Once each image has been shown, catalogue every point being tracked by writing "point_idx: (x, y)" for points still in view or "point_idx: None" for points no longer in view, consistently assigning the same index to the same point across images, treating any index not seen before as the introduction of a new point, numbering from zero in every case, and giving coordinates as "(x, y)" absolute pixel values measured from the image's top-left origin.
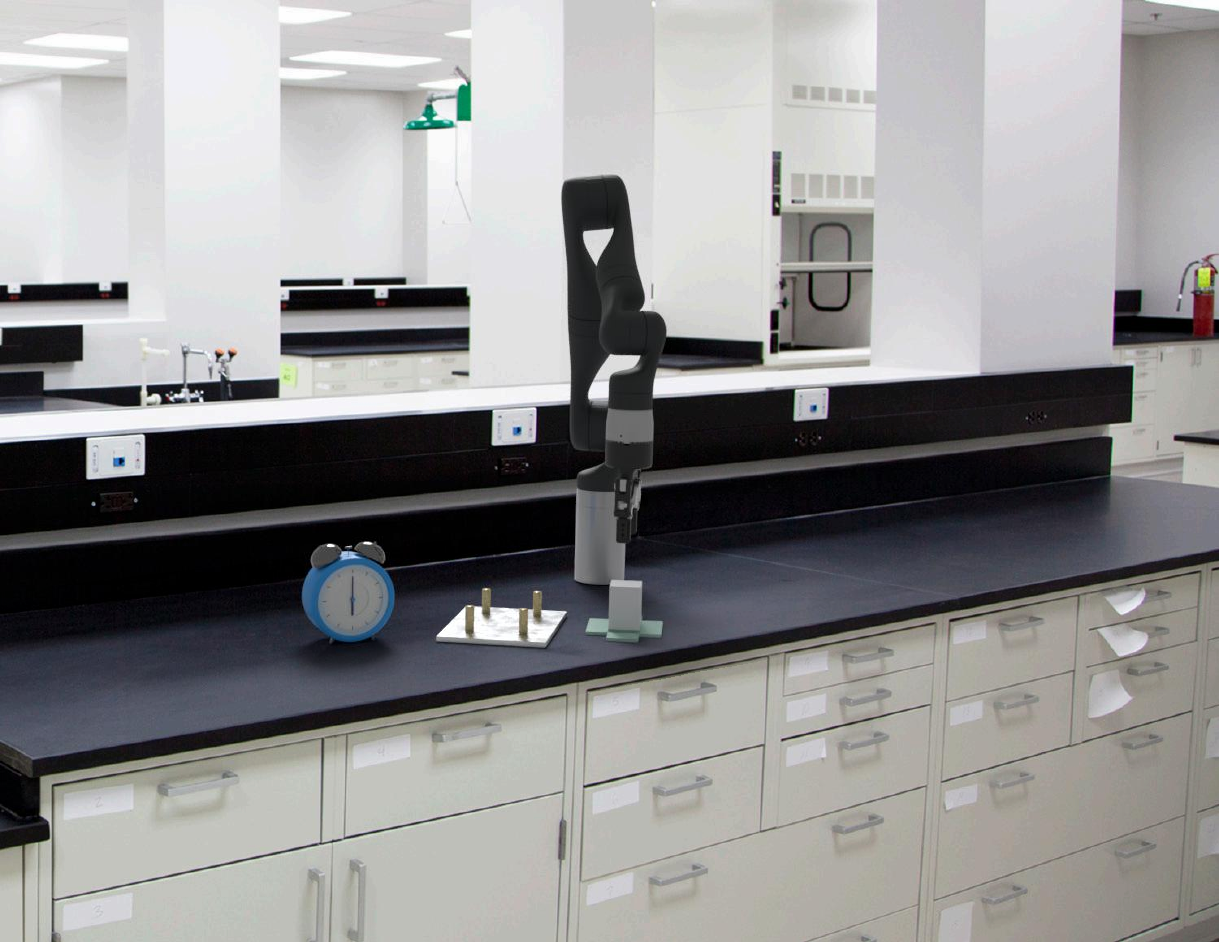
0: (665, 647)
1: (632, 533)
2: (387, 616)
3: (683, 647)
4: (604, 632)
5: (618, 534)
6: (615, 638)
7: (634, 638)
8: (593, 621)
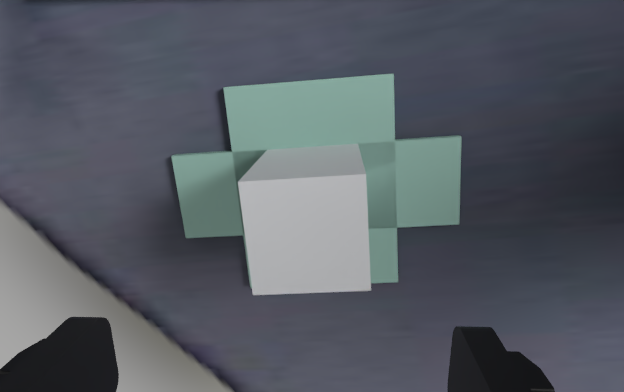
0: (162, 299)
1: (451, 382)
2: None
3: (176, 335)
4: (231, 143)
5: (6, 367)
6: (176, 180)
7: (188, 228)
8: (353, 92)
